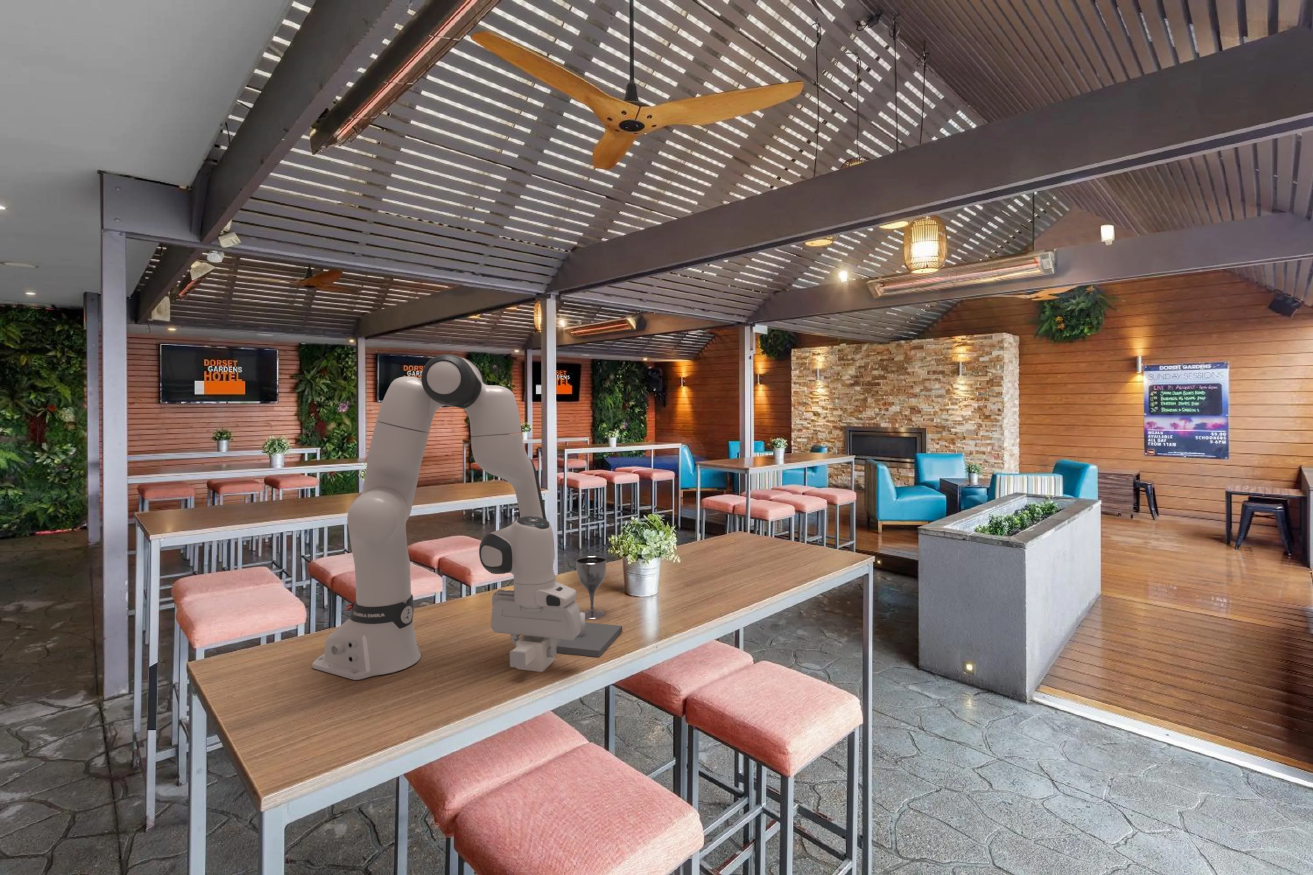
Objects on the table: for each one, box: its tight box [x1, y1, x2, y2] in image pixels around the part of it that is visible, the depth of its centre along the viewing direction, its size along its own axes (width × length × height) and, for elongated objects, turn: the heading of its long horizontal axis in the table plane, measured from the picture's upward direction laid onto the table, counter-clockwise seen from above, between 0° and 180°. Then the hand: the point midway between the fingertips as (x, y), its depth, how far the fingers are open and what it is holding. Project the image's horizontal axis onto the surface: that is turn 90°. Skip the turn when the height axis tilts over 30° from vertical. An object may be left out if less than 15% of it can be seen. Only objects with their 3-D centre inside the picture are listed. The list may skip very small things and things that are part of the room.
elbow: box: [509, 635, 556, 673], centre depth 129 cm, size 11×6×6 cm, turn 164°
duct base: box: [556, 611, 623, 658], centre depth 145 cm, size 16×16×6 cm
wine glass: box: [576, 555, 607, 620], centre depth 163 cm, size 8×8×15 cm
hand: (536, 654), depth 132 cm, fingers closed on elbow, 6 cm apart
